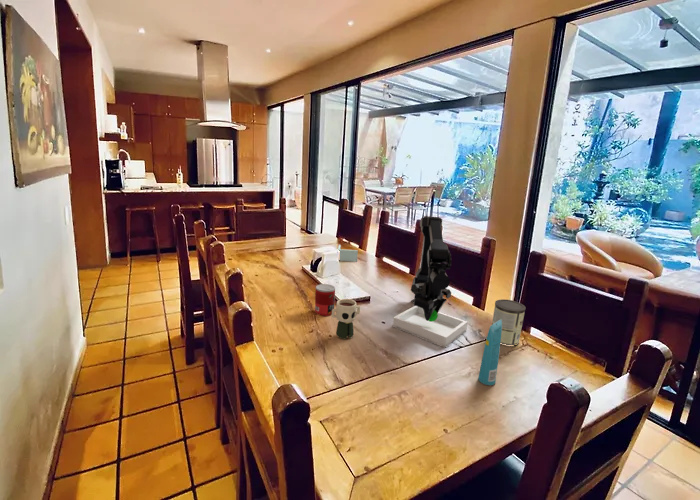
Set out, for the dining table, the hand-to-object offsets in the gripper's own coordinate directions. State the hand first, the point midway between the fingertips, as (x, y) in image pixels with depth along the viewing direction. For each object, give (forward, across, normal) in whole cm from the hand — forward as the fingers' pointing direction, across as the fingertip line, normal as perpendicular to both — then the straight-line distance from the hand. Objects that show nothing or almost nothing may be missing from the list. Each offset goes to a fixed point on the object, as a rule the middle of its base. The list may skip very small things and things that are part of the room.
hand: (430, 318), depth 142 cm
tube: (+4, +18, +29) cm, 35 cm away
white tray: (+4, 0, 0) cm, 4 cm away
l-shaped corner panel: (+6, -48, -83) cm, 96 cm away
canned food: (+5, +19, -38) cm, 43 cm away
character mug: (+5, +28, -19) cm, 34 cm away
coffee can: (+5, -13, +24) cm, 28 cm away
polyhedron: (+1, 0, 0) cm, 1 cm away
